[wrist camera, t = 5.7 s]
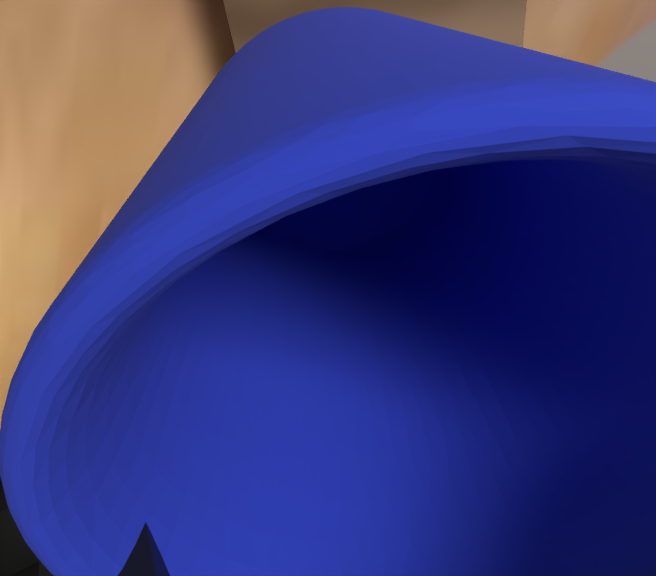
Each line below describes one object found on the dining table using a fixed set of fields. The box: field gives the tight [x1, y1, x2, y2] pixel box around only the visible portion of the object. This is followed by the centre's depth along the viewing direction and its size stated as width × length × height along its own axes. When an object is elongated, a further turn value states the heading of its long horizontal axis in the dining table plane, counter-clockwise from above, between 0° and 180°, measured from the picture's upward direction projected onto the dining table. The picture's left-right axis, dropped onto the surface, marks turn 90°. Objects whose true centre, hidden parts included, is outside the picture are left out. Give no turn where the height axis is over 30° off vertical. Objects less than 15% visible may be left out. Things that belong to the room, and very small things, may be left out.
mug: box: [0, 7, 656, 576], centre depth 10 cm, size 8×12×10 cm
